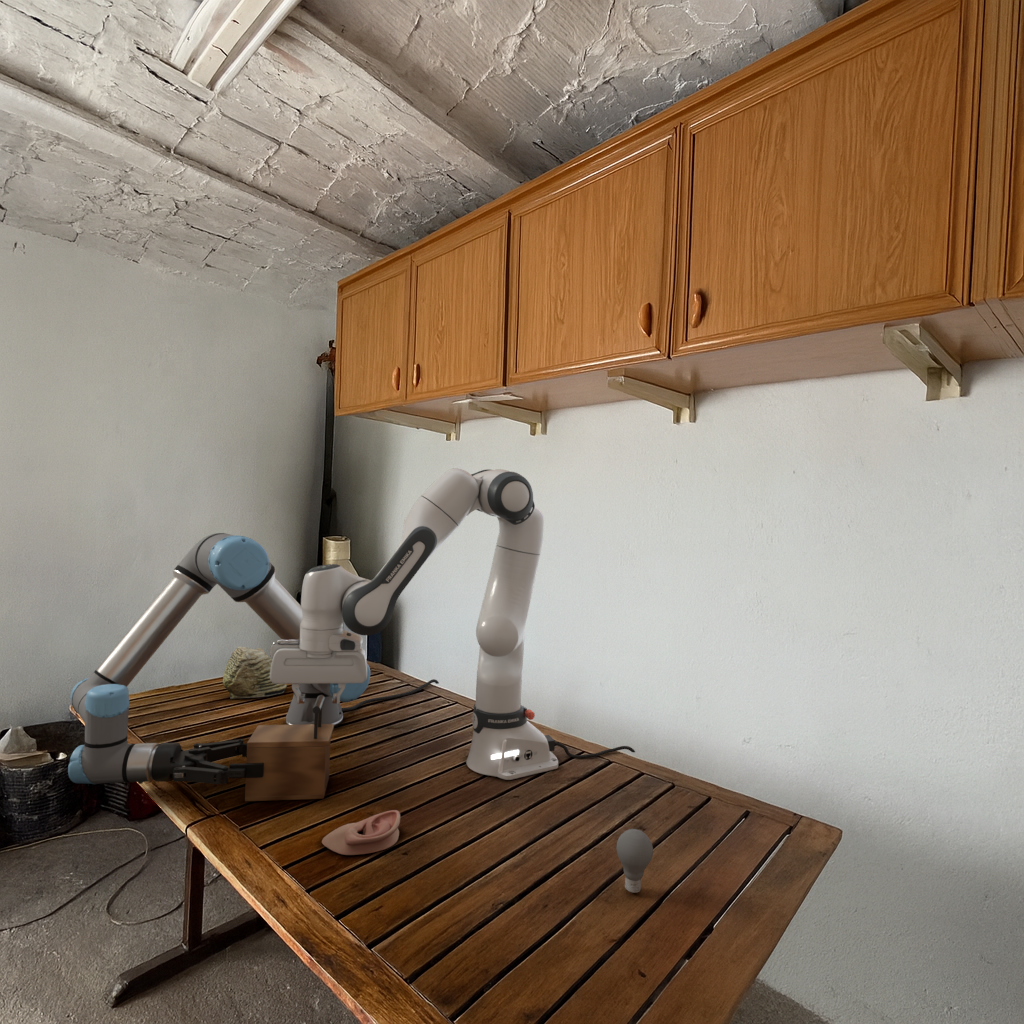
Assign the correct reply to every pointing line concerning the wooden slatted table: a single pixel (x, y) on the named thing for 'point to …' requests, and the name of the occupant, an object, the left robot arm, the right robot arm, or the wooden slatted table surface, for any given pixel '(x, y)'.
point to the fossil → (250, 674)
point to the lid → (294, 732)
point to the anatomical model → (365, 835)
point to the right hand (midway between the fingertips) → (318, 703)
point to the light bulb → (634, 857)
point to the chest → (289, 773)
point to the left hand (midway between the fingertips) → (268, 759)
